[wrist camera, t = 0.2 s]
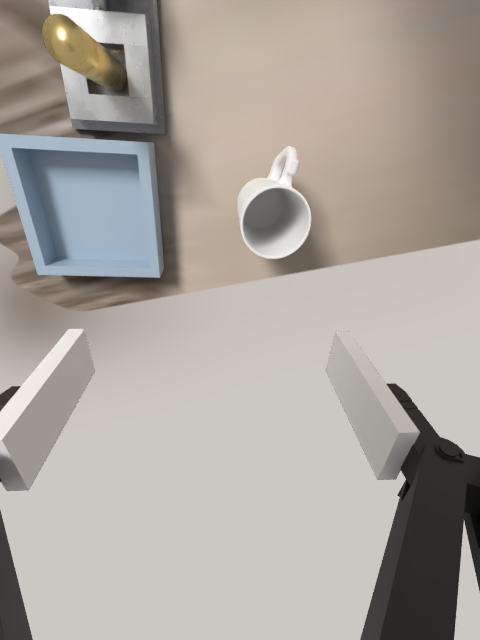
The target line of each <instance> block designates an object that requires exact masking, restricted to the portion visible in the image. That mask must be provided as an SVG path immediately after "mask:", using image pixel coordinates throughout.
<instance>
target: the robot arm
mask: <svg viewBox="0 0 480 640" xmlns="http://www.w3.org/2000/svg"><path fill="white" fill-rule="evenodd" d="M326 372H327V374H328V377H329V379H330V381H331V383H332V385H333V387H334V389H335V391H336V393H337V395H338V398H339V400H340V402H341V404H342V406H343V408H344V410H345V413H346V414H347V417H348V419H349V421H350V423H351V425H352V427H353V429H354V431H355V434H356V436H357V438H358V440H359V442H360V444H361V446H362V449H363V451H364V453H365V455H366V457H367V459H368V461H369V463H370V465H371V468H372V470H373V472H374V474H375V476H376V478H377V480H390V479H396V478H397V476H398V474H399V472H400V470H401V471H402V473H403V474H404V476H405V478H406V481H405V482H404V484H403V486H402V488H401V490H400V492H399V493H398V496H399V497H400V499H399V502H398V506H397V510H396V513H395V517H394V521H393V524H392V528H391V531H390V535H389V538H388V542H387V546H386V549H385V553H384V556H383V560H382V564H381V567H380V571H379V574H378V578H377V582H376V585H375V589H374V592H373V596H372V600H371V603H370V607H369V610H368V614H367V618H366V621H365V625H364V628H363V632H362V636H361V640H454V631H455V619H456V607H457V595H458V583H459V571H460V559H461V546H462V534H463V522H464V521H465V526H466V530H467V535H468V540H469V544H470V549H471V553H472V558H473V563H474V567H475V572H476V576H477V581H478V586H479V590H480V458H479V457H475V456H471V455H467V454H465V453H464V452H463V450H462V449H461V448H460V447H458V446H457V445H456V444H454V443H453V442H451V441H449V440H447V439H444V438H441V437H439V435H438V434H437V433H436V432H435V430H434V429H433V427H432V426H431V425H430V424H429V422H428V421H427V420H426V418H425V417H424V416H423V414H422V413H421V412H420V410H418V408H417V406H416V405H415V404H414V403H413V402H412V400H411V398H410V397H409V396H408V395H407V393H406V392H405V391H404V390H403V389H401V388H400V387H399V386H397V385H396V384H386V383H385V382H384V380H383V379H382V377H381V376H380V375H379V373H378V372H377V370H376V369H375V367H374V366H373V365H372V363H371V362H370V361H369V359H368V357H367V356H366V355H365V353H364V352H363V350H362V349H361V347H360V346H359V345H358V343H357V342H356V340H355V339H354V337H353V336H352V335H351V333H350V332H349V331H335V335H334V339H333V343H332V347H331V351H330V356H329V360H328V364H327V368H326ZM94 373H95V369H94V365H93V361H92V357H91V353H90V349H89V345H88V341H87V337H86V333H85V329H69V330H68V331H67V332H66V333H65V334H64V336H63V337H62V338H61V339H60V340H59V341H58V343H57V344H56V345H55V346H54V348H53V349H52V350H51V351H50V353H49V354H48V355H47V356H46V357H45V358H44V360H43V361H42V362H41V363H40V365H39V366H38V367H37V368H36V369H35V370H34V372H33V373H32V374H31V375H30V377H29V378H28V379H27V380H26V381H25V382H24V384H23V385H22V386H17V387H16V386H14V387H13V386H12V387H11V388H9V389H8V390H6V391H5V392H4V393H2V394H0V482H2V484H3V486H4V487H5V489H6V490H7V491H22V490H29V489H30V487H31V486H32V484H33V482H34V480H35V478H36V477H37V475H38V473H39V471H40V469H41V467H42V466H43V464H44V462H45V460H46V459H47V457H48V455H49V453H50V451H51V450H52V448H53V446H54V444H55V443H56V441H57V439H58V437H59V435H60V433H61V431H62V430H63V428H64V426H65V425H66V423H67V421H68V419H69V417H70V415H71V414H72V412H73V410H74V408H75V407H76V405H77V403H78V401H79V399H80V398H81V396H82V394H83V392H84V390H85V389H86V387H87V385H88V383H89V382H90V380H91V378H92V376H93V374H94ZM0 640H33V639H32V635H31V631H30V627H29V623H28V619H27V615H26V612H25V607H24V603H23V599H22V595H21V591H20V588H19V583H18V579H17V575H16V571H15V567H14V563H13V560H12V555H11V551H10V547H9V543H8V540H7V535H6V532H5V527H4V523H3V519H2V515H1V511H0Z"/></svg>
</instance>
